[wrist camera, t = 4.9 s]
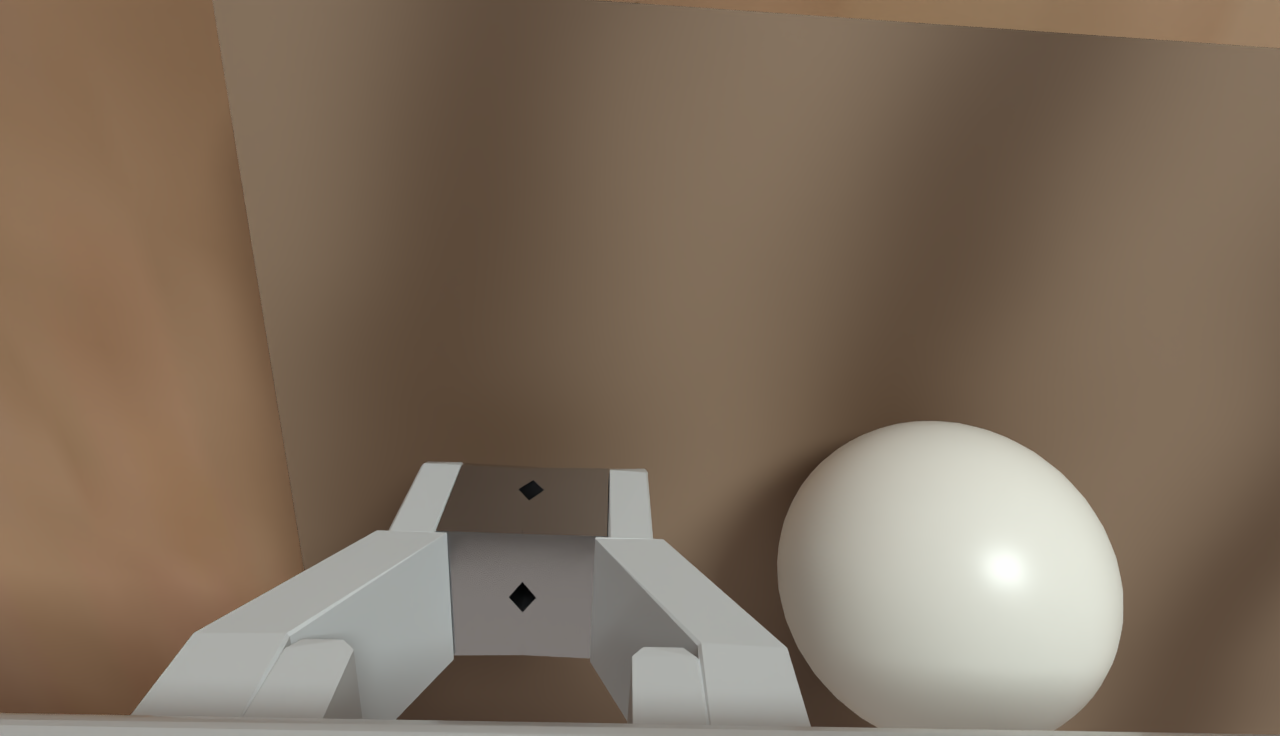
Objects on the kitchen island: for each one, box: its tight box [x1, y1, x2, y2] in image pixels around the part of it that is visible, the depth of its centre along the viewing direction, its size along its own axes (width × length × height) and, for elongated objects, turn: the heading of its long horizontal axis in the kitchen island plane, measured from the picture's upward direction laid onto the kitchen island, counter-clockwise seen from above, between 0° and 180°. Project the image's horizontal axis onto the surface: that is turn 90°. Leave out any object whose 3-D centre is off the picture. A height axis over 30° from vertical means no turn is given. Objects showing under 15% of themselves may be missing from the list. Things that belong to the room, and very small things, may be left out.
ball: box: [777, 421, 1123, 731], centre depth 9 cm, size 4×4×4 cm
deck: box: [212, 0, 1280, 735], centre depth 12 cm, size 30×13×2 cm, turn 87°
